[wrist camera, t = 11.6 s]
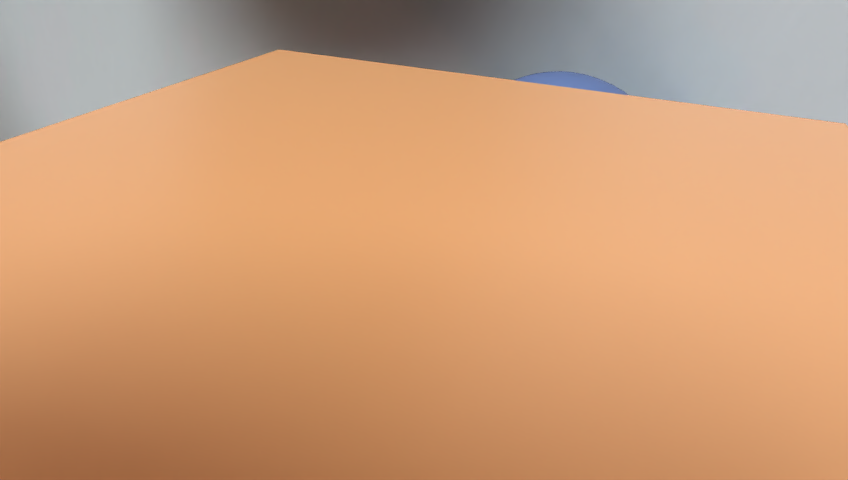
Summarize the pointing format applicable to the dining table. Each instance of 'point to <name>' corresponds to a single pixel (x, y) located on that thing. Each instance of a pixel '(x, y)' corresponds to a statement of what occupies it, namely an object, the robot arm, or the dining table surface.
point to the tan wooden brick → (421, 284)
